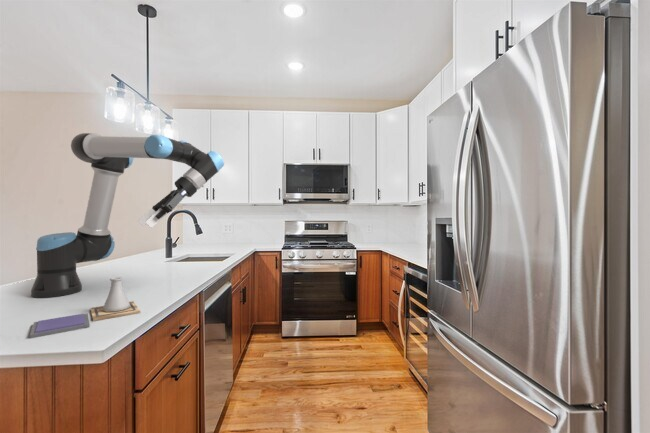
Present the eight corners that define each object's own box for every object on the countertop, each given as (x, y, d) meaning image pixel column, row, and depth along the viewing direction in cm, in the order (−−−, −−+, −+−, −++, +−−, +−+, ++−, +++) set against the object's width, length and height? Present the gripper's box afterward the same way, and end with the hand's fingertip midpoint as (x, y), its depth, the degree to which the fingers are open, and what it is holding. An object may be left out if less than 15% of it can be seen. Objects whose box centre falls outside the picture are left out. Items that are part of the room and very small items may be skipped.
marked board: (90, 309, 101) (90, 307, 101) (133, 302, 109) (133, 300, 109) (93, 321, 90) (93, 319, 90) (140, 312, 98) (140, 310, 98)
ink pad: (34, 324, 87) (34, 320, 87) (87, 315, 95) (87, 312, 95) (29, 338, 78) (29, 333, 78) (89, 327, 86) (89, 322, 86)
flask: (116, 313, 95) (116, 281, 95) (96, 311, 97) (96, 280, 97) (135, 306, 102) (135, 276, 102) (116, 305, 104) (116, 275, 104)
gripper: (208, 188, 108) (161, 233, 98) (187, 192, 127) (146, 230, 117) (192, 172, 104) (141, 217, 95) (173, 178, 123) (129, 216, 114)
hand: (144, 224), depth 106 cm, fingers open, 13 cm apart
